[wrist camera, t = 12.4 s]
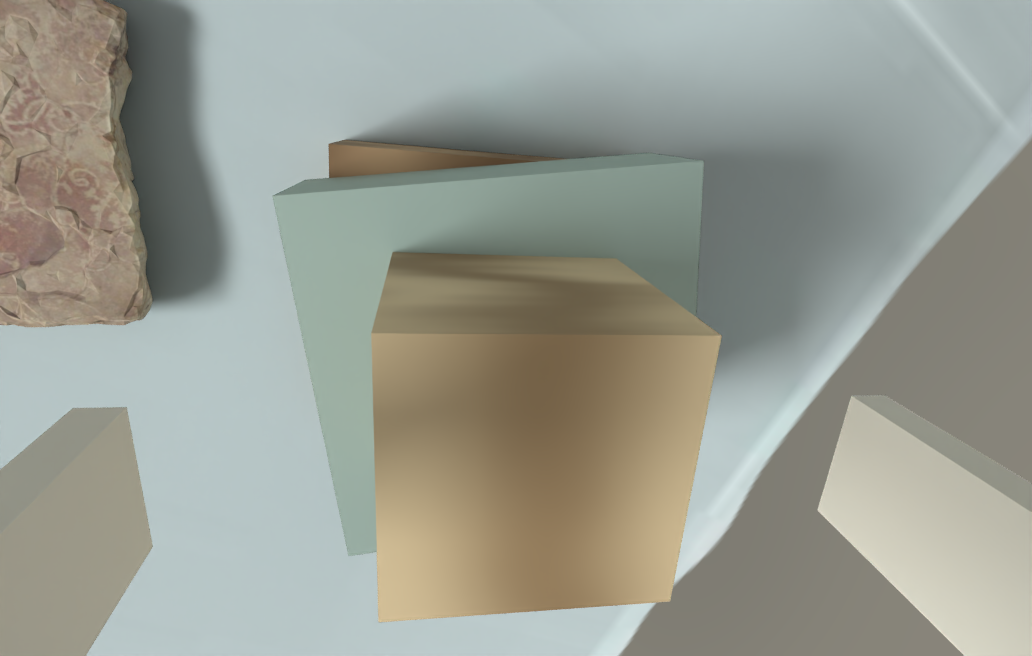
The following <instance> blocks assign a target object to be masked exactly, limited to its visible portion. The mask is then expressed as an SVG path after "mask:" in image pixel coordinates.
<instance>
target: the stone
mask: <svg viewBox="0 0 1032 656" xmlns="http://www.w3.org/2000/svg"><path fill="white" fill-rule="evenodd" d="M126 21H127V12H126V11H125V10H124V9H122V8H120V7H117V6H115V5H113V4H110V3H108V2H106V1H103V0H0V325H13V324H14V325H17V326H24V327H52V326H62V325H88V324H108V325H126V324H128V323H130V322H133V321H136V320H142V319H143V318H144V317H145V316H146V315H147V313H148V312H149V310H150V308H151V305H152V302H153V300H152V295H151V290H150V288H149V285H148V281H147V277H146V261H147V249H146V245H145V241H144V236H143V234H142V231H141V229H140V217H141V216H140V210H139V206H138V203H139V197H138V194H137V192H136V189H135V187H134V185H133V183H132V181H133V180H134V176H133V173H132V171H131V160H130V156H129V153H128V149H127V145H126V139H125V135H124V132H123V129H122V126H121V122H120V119H119V116H120V112H121V108H122V106H123V103H124V100H125V96H126V92H127V88H128V86H129V84H130V82H131V80H132V71H131V69H130V68H129V66H128V63H127V61H126V58H125V56H126V52H127V50H128V37H127V34H126Z"/></svg>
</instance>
